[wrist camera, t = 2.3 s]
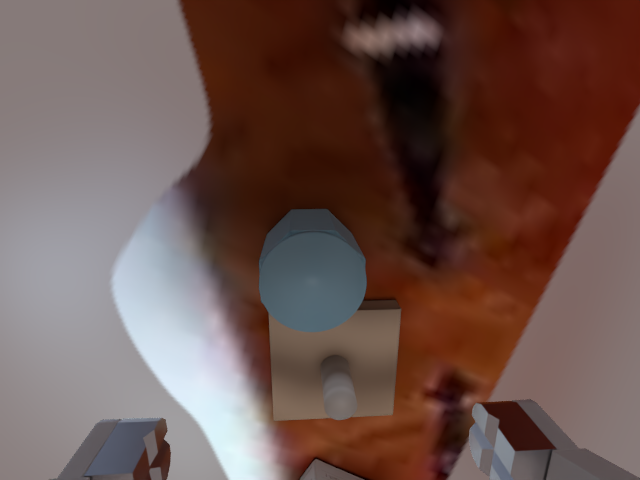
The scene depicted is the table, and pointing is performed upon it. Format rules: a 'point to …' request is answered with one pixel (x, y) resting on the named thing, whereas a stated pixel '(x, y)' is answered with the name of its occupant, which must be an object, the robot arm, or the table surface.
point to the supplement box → (326, 472)
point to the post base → (343, 339)
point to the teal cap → (311, 271)
